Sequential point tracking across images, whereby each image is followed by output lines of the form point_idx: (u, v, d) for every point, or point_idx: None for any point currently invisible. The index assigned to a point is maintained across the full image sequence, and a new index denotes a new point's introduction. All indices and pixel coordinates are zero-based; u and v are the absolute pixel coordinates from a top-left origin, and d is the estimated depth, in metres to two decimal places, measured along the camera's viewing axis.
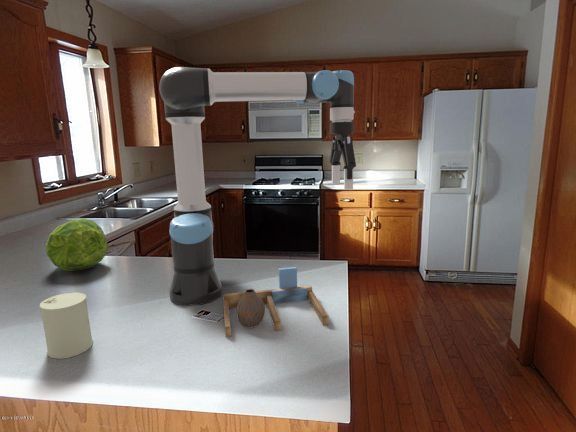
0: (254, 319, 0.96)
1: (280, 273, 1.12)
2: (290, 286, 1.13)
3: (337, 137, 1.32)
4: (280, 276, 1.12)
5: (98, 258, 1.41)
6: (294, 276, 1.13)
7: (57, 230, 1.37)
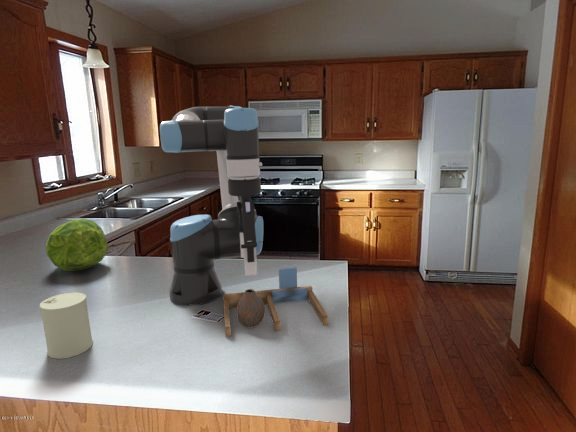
0: (254, 319, 0.96)
1: (280, 273, 1.12)
2: (290, 286, 1.13)
3: None
4: (280, 276, 1.12)
5: (98, 258, 1.41)
6: (294, 276, 1.13)
7: (57, 230, 1.37)
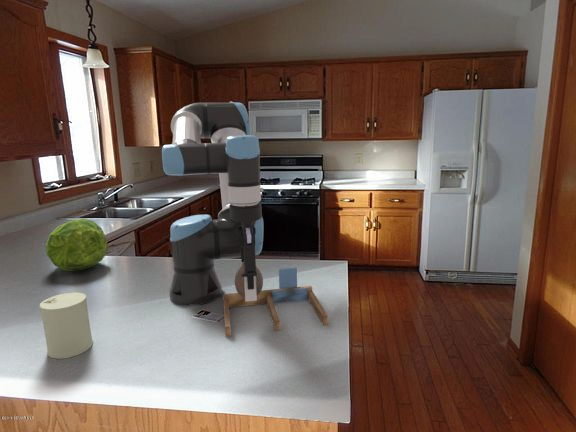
0: None
1: (280, 273, 1.12)
2: (290, 286, 1.13)
3: None
4: (280, 276, 1.12)
5: (98, 258, 1.41)
6: (294, 276, 1.13)
7: (57, 230, 1.37)
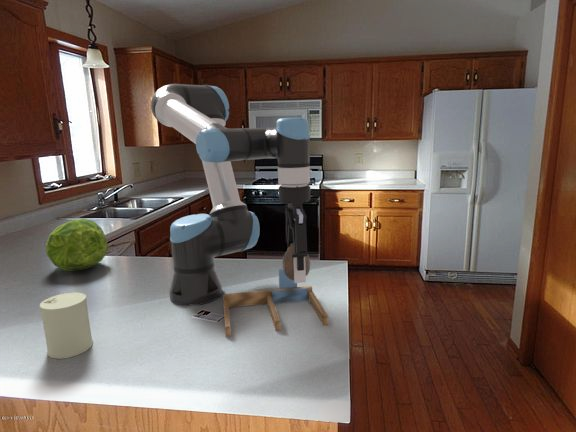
0: None
1: (280, 273, 1.12)
2: (290, 286, 1.13)
3: (289, 202, 0.97)
4: (280, 276, 1.12)
5: (98, 258, 1.41)
6: None
7: (57, 230, 1.37)
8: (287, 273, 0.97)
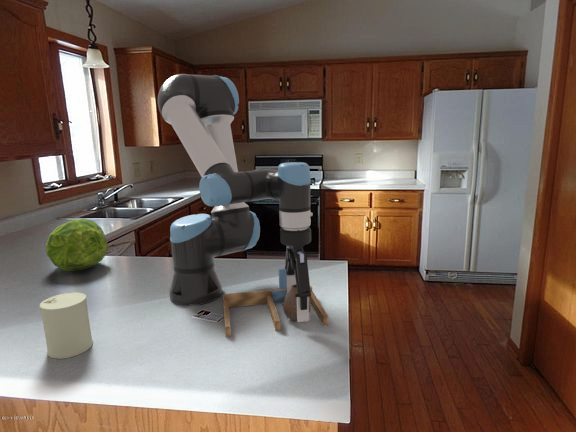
0: None
1: (280, 273, 1.12)
2: None
3: (290, 245, 0.99)
4: (280, 276, 1.12)
5: (98, 258, 1.41)
6: None
7: (57, 230, 1.37)
8: (288, 315, 0.99)
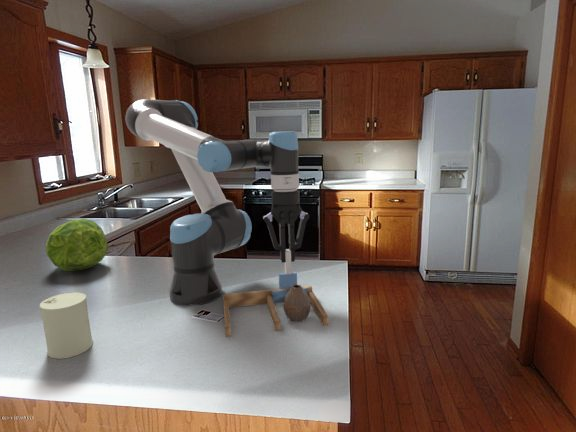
0: (301, 314, 0.98)
1: (280, 279, 1.12)
2: None
3: None
4: (280, 281, 1.12)
5: (98, 258, 1.41)
6: (294, 281, 1.13)
7: (57, 230, 1.37)
8: (288, 315, 0.99)
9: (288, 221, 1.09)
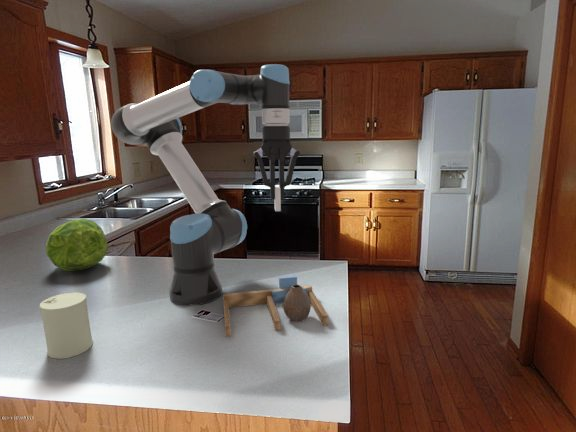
0: (301, 314, 0.98)
1: (280, 282, 1.12)
2: None
3: None
4: (280, 285, 1.13)
5: (98, 258, 1.41)
6: None
7: (57, 230, 1.37)
8: (288, 315, 0.99)
9: (278, 157, 1.10)
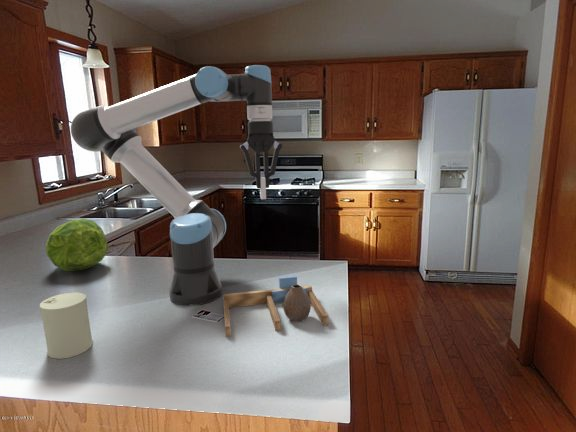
0: (301, 314, 0.98)
1: (280, 282, 1.12)
2: None
3: None
4: (280, 285, 1.13)
5: (98, 258, 1.42)
6: None
7: (57, 230, 1.37)
8: (288, 315, 0.99)
9: (263, 149, 1.21)
